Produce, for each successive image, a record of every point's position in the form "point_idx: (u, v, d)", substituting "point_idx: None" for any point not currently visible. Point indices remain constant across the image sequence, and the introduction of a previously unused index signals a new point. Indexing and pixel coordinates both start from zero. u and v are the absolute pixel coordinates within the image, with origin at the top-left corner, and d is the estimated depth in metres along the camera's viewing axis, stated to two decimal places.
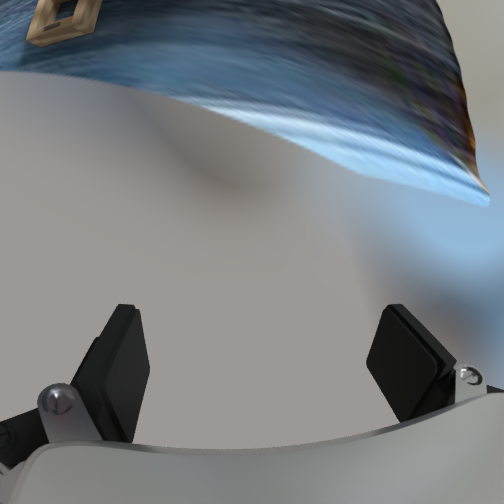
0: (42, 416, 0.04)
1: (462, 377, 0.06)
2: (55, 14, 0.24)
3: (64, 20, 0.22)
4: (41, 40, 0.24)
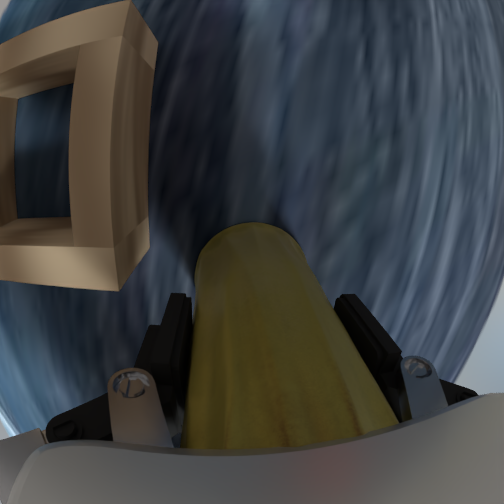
0: (116, 401, 0.05)
1: (409, 371, 0.07)
2: (72, 80, 0.10)
3: None
4: None
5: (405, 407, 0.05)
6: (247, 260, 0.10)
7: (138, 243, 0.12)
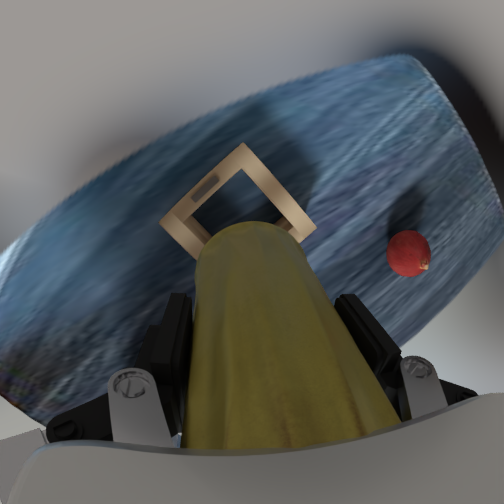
0: (117, 401, 0.05)
1: (408, 371, 0.07)
2: None
3: (190, 208, 0.26)
4: None
5: (405, 407, 0.05)
6: (247, 259, 0.10)
7: None
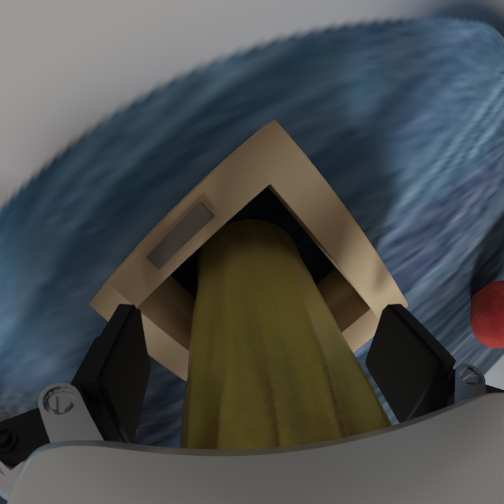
0: (43, 416, 0.04)
1: (461, 377, 0.06)
2: None
3: (149, 280, 0.11)
4: None
5: None
6: (244, 252, 0.11)
7: None
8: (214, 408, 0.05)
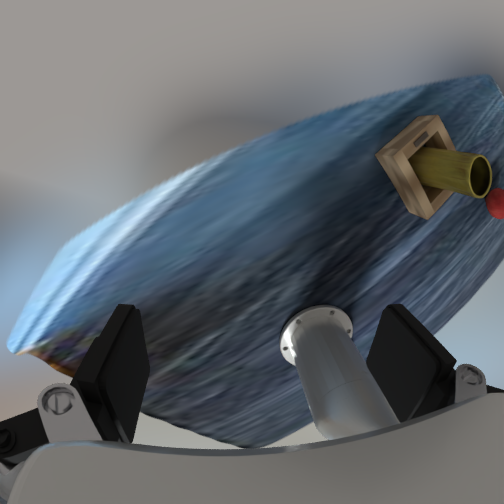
0: (42, 416, 0.04)
1: (462, 377, 0.06)
2: None
3: (412, 150, 0.31)
4: (421, 122, 0.32)
5: None
6: None
7: None
8: (459, 156, 0.25)
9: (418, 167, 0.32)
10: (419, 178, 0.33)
